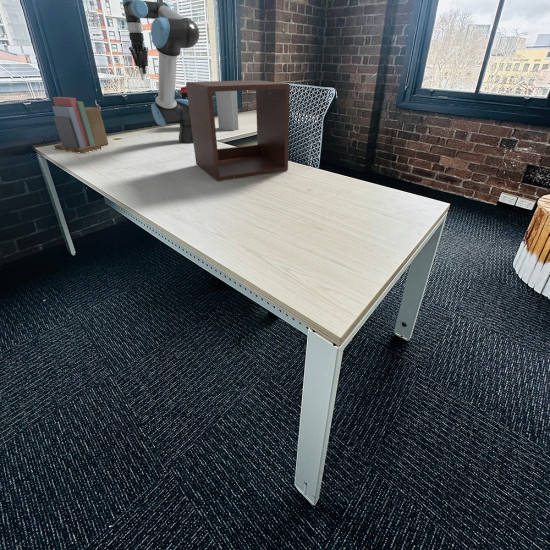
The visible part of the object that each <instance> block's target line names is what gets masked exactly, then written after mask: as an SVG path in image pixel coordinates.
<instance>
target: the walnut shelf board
mask: <svg viewBox="0 0 550 550" xmlns="http://www.w3.org/2000/svg"><path fill="white" fill-rule="evenodd" d="M53 148H54V150H57V149H58V150H59V151H64V150H65V151H66V152H70V151H72V152H73V153H77V152H80V153H79V154H87V153H86V152H88V153H90V152H89V151H92V152H94V151H93V150H96V151H98V150H97V149H100V150H102V149H101V148H102V146H101V145H91V146H85V147H82V148H79V147H78V148H73V147H66V146H63V145H62V143H58V144H54V145H53ZM58 150H57V151H58ZM72 152H71V153H72Z"/></svg>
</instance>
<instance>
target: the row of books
mask: <svg viewBox="0 0 550 550" xmlns="http://www.w3.org/2000/svg"><path fill="white" fill-rule="evenodd" d="M52 101H53V103H54V105H53V106H52V111H53V114H54V116H53V117H52V118H53V120H54V123H55V127H56V130H57V133H58V136H59V139H60V141H61V144H62V145H63V146H66V147H73V148H78V147H79V148H82V147H85V146H91V145H95V143H94V139H93V136H92V132H91V129H90V125H89V122H88V118H87V115H86V111H85V104H84V101H77V99H76V97H69V96H68V97H67V96H66V97H65V96H52Z"/></svg>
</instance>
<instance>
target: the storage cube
mask: <svg viewBox="0 0 550 550" xmlns="http://www.w3.org/2000/svg"><path fill="white" fill-rule="evenodd" d="M185 86H186V88H187V96H188V104H189V112H190V120H191V128H192V135H193V143H192V144H193V151H194V156H195V164H196V166H198V167H199V168H200V169H202V170H203V172H206V174H208V175H209V176H210V177H212V179H214V180H215V181H216V182H222V181H228V180H236V179H242V178H243V179H244V178H249V177H250V178H251V177H255V176H260V175H261V176H263V175H268V174H274V173H275V174H276V173H282V172H287V171H288V170H289V139H290V138H289V136H290V131H289V129H290V96H291V95H290V94H291V93H290V88H291V86H290V84H289V83H287V82H286V83H285V82H275V81H267V80H260V79H256V80H255V79H251V80H250V79H249V80H218V81H217V80H215V81H213V80H212V81H187V82H186V83H185ZM218 91H237V92H238V91H255V100H256V102H255V107H256V109H255V110H256V138H257V139H256V141H257V144H251V145H242V146H234V147H233V146H232V147H224V148H218V143H217V142H218V141H217V131H216V130H217V129H216V122H215V121H216V120H215V118H216V117H215V110H214V109H215V108H214V98H213V92H215V93H216V92H218Z"/></svg>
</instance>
